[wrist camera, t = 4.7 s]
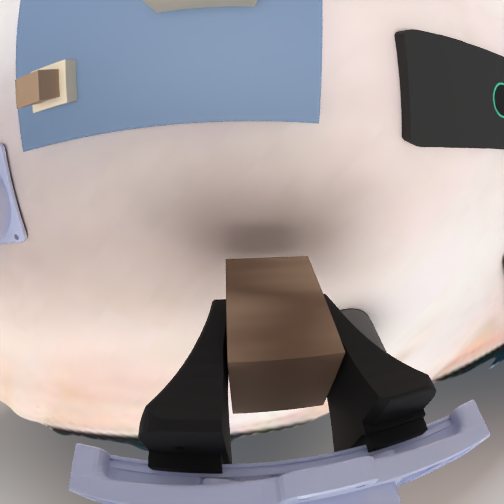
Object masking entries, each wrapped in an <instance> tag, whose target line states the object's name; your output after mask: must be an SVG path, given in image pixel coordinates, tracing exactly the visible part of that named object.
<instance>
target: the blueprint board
mask: <svg viewBox="0 0 504 504" xmlns="http://www.w3.org/2000/svg"><path fill="white" fill-rule="evenodd" d="M321 72H322V0H21V1H20V8H19V17H18V27H17V41H16V80H15V86H16V103H17V109H18V115H19V124H20V132H21V139H22V146H23V152H25V151H28V150H32V149H36V148H39V147H43V146H47V145H51V144H55V143H59V142H63V141H68V140H72V139H77V138H82V137H87V136H92V135H97V134H103V133H109V132H115V131H122V130H128V129H136V128H143V127H152V126H161V125H171V124H183V123H198V122H218V121H285V122H306V123H319V115H320V97H321Z"/></svg>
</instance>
